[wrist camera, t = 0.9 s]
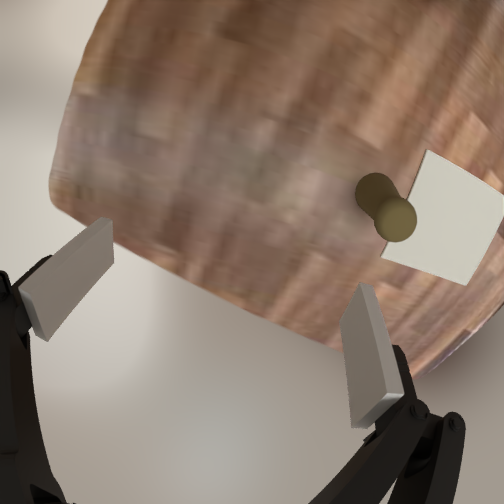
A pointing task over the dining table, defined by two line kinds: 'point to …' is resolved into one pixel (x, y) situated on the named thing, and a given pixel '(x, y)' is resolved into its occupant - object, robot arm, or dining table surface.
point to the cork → (386, 207)
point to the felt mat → (448, 221)
